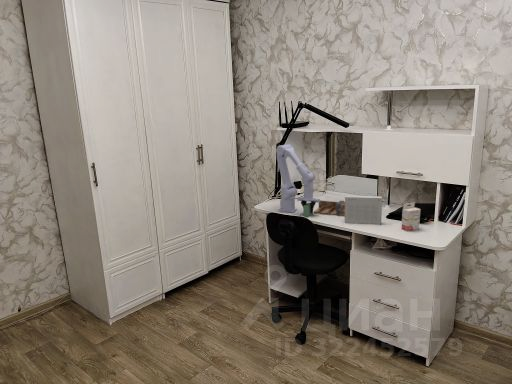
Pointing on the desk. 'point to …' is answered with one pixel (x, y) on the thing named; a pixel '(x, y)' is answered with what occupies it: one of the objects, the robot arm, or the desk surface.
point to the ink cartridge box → (410, 217)
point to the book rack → (331, 208)
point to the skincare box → (363, 209)
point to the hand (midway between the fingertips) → (308, 212)
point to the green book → (307, 210)
